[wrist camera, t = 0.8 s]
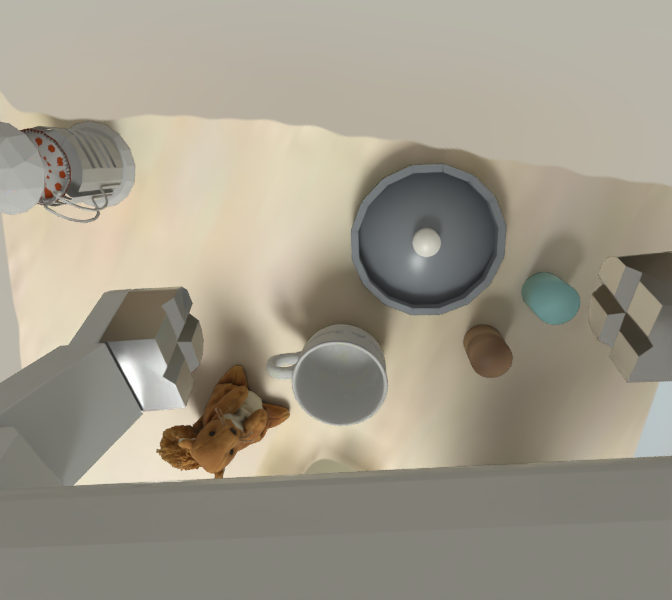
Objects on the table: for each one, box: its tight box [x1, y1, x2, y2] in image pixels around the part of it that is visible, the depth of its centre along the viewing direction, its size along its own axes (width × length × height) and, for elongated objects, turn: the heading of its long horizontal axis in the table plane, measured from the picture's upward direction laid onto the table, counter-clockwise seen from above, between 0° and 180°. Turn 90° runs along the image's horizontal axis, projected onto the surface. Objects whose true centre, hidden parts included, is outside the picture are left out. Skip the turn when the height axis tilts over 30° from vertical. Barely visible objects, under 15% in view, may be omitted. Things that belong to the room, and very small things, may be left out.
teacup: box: [267, 324, 388, 426], centre depth 54 cm, size 14×11×8 cm
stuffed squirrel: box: [156, 365, 290, 479], centre depth 55 cm, size 10×14×13 cm
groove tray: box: [351, 164, 506, 315], centre depth 51 cm, size 17×17×2 cm
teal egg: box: [522, 272, 580, 325], centre depth 50 cm, size 4×4×5 cm
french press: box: [0, 121, 135, 223], centre depth 42 cm, size 10×12×25 cm
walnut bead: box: [464, 325, 513, 378], centre depth 53 cm, size 4×4×5 cm
